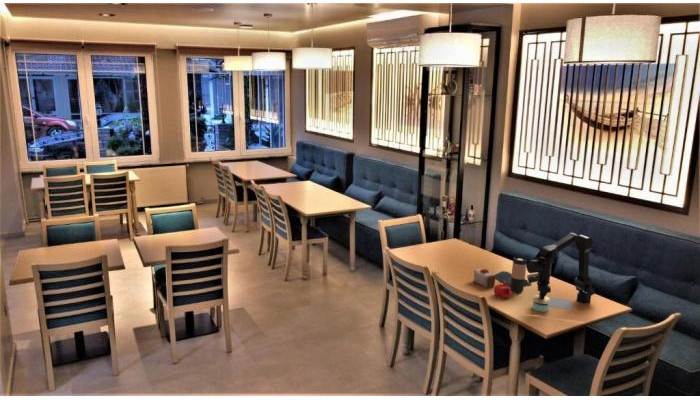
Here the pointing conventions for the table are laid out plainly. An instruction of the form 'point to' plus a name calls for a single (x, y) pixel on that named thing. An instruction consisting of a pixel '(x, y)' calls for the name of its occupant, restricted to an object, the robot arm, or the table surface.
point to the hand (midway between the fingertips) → (541, 298)
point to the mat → (560, 303)
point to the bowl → (540, 306)
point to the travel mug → (518, 274)
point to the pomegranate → (502, 290)
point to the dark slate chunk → (507, 278)
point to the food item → (484, 278)
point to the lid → (538, 299)
